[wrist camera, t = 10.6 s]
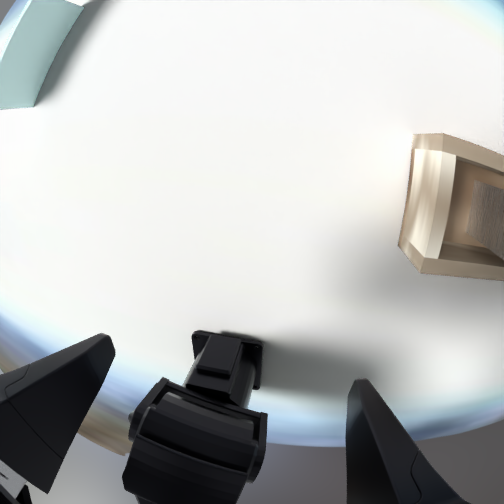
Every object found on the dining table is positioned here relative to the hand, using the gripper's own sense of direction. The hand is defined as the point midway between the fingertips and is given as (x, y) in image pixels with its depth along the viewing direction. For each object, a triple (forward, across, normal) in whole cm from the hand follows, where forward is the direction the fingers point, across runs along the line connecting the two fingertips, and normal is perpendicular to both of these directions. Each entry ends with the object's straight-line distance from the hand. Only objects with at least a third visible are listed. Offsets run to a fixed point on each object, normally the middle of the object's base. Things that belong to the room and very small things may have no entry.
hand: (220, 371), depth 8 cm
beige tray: (+12, -17, -5) cm, 21 cm away
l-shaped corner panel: (+13, +27, -22) cm, 37 cm away
